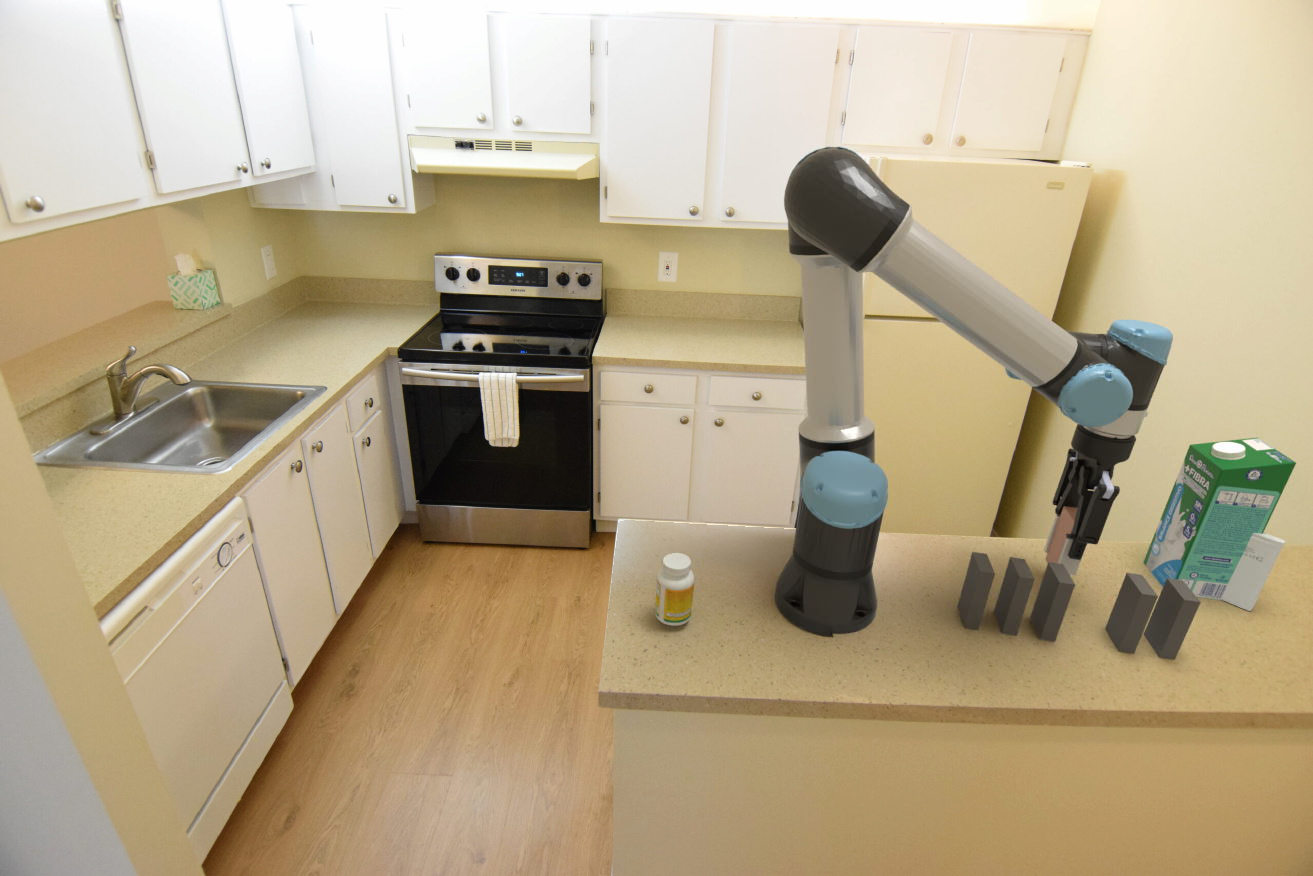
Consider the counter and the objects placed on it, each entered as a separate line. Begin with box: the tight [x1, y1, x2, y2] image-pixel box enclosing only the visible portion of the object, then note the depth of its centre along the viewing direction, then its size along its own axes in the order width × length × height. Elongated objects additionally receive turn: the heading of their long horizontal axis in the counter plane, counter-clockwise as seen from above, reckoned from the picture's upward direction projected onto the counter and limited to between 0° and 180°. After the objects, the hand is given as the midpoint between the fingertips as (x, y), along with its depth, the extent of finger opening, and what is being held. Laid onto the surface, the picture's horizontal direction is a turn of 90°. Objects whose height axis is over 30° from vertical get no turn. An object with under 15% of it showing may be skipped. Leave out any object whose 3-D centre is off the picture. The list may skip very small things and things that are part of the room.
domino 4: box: [1029, 562, 1076, 643], centre depth 99 cm, size 2×5×10 cm, turn 169°
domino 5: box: [1104, 572, 1159, 655], centre depth 98 cm, size 2×5×10 cm, turn 169°
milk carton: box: [1142, 437, 1297, 601], centre depth 108 cm, size 9×9×25 cm
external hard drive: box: [1220, 532, 1286, 612], centre depth 107 cm, size 2×8×12 cm, turn 39°
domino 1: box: [957, 551, 996, 631], centre depth 101 cm, size 2×5×10 cm, turn 169°
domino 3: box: [1045, 506, 1077, 564], centre depth 108 cm, size 2×5×10 cm, turn 169°
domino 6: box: [1143, 578, 1202, 661], centre depth 97 cm, size 2×5×10 cm, turn 168°
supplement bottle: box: [654, 552, 695, 627], centre depth 99 cm, size 5×5×10 cm
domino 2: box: [993, 556, 1036, 637], centre depth 100 cm, size 2×5×10 cm, turn 169°
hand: (1059, 562), depth 109 cm, fingers closed on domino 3, 5 cm apart
